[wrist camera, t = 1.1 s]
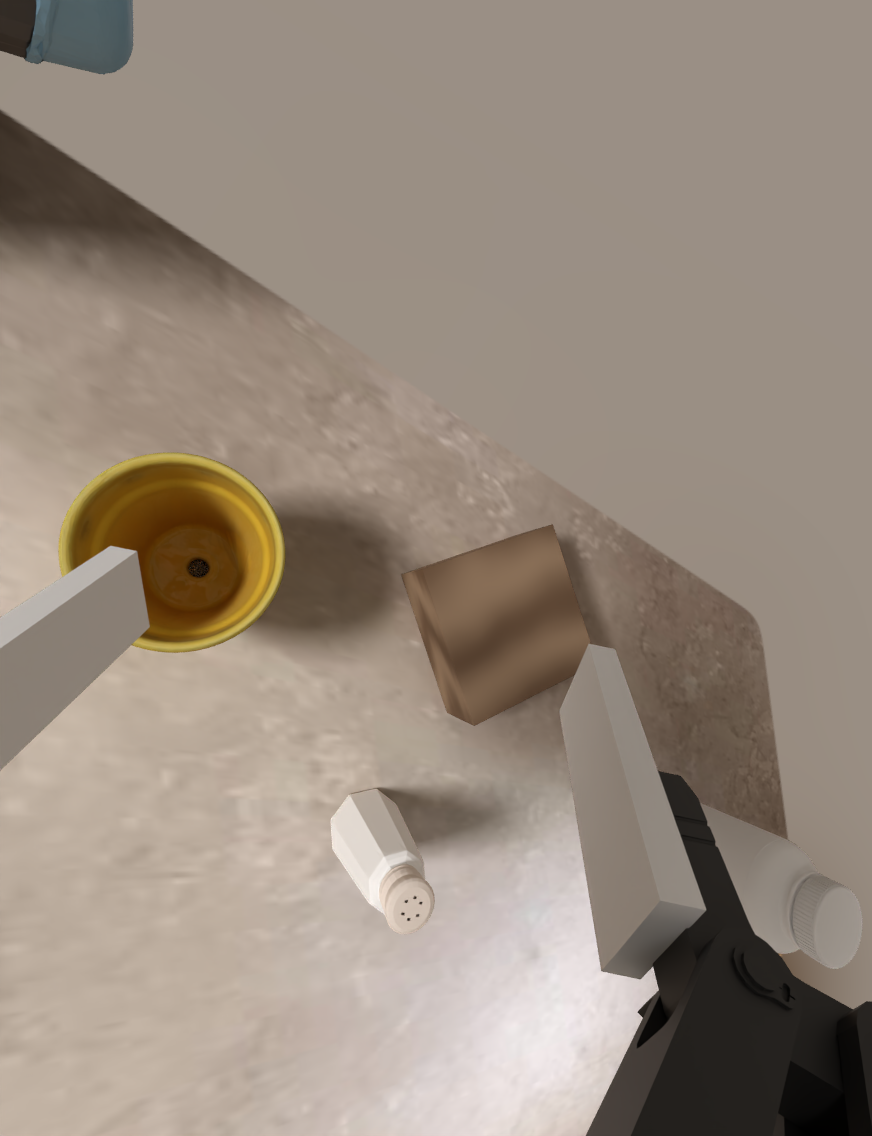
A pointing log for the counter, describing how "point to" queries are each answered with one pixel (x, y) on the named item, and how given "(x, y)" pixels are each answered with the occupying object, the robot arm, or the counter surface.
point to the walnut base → (498, 623)
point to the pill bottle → (787, 893)
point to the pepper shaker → (383, 859)
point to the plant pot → (183, 544)
